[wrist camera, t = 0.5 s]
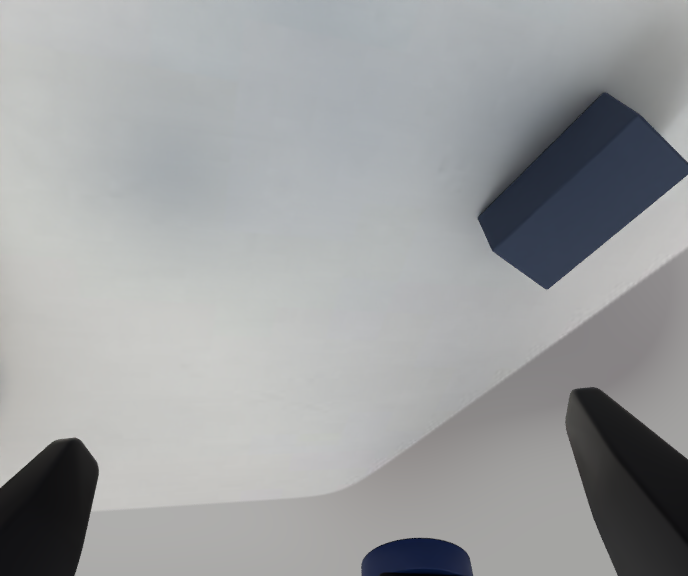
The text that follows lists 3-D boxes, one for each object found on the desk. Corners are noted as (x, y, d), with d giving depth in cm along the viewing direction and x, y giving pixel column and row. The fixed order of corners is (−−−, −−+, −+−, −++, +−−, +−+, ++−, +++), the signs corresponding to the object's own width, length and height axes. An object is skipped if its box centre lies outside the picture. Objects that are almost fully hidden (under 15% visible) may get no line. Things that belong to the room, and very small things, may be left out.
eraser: (527, 255, 21) (547, 291, 19) (476, 217, 20) (491, 251, 18) (656, 142, 18) (695, 170, 16) (603, 90, 17) (639, 113, 15)
